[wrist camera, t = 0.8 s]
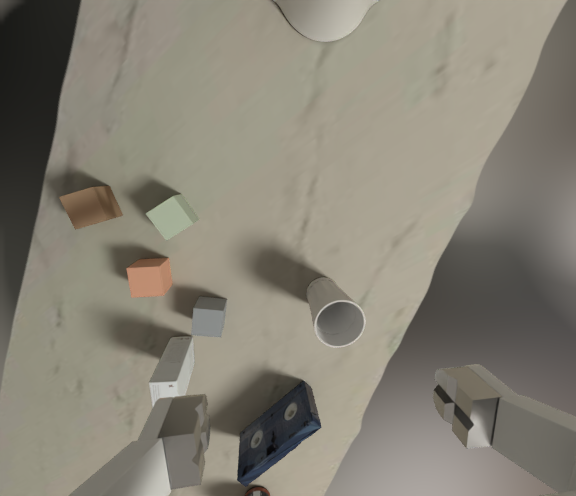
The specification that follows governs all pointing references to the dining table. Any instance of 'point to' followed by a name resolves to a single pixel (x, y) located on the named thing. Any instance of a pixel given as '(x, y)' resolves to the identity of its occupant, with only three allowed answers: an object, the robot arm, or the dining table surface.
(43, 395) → the dining table surface
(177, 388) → the skincare box
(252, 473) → the vhs cassette tape
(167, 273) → the terracotta cube
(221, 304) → the slate cube
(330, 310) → the cup
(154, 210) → the sage cube
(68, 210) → the walnut cube
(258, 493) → the supplement bottle
